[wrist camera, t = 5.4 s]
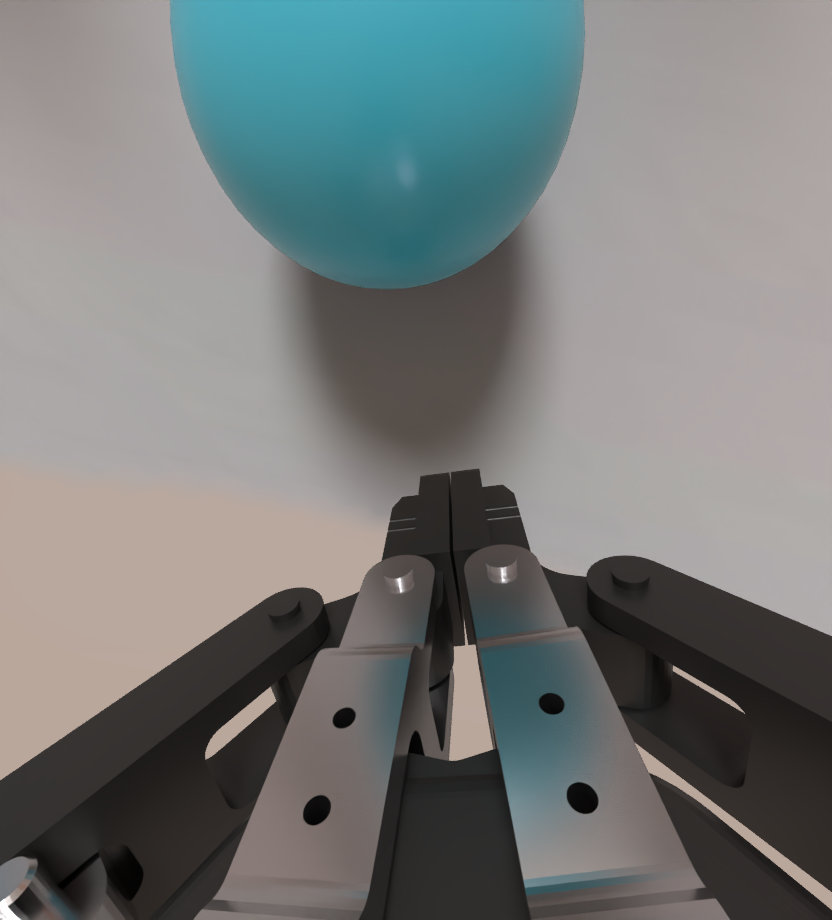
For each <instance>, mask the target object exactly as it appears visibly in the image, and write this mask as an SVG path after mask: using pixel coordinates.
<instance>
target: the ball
mask: <svg viewBox="0 0 832 920" xmlns="http://www.w3.org/2000/svg"><path fill="white" fill-rule="evenodd" d="M170 22H171V33H172V42H173V51H174V60H175V67H176V72H177V77H178V81H179V86H180V91H181V96H182V99H183V102H184V105H185V109H186V112H187V115H188V118H189V121H190V124H191V127H192V129H193V132H194V134H195V136H196V139H197V141H198V143H199V146H200V148H201V150H202V152H203V155H204V157H205V159H206V161H207V162H208V164H209V166H210V168H211V170H212V171H213V173H214V175H215V177H216V178H217V180H218V182H219V184H220V186H221V187H222V189H223V190H224V192H225V193H226V194H227V196H228V197H229V199H230V200H231V201H232V203H233V204H234V206H235V207H236V208H237V210H238V211H239V212H240V213H241V214H242V215H243V217H244V218H245V219H246V220H247V221H248V222H249V223H250V224H251V226H252V227H253V228H254V229H255V230H256V231H257V232H258V233H259V234H261V235H262V236H263V237H264V238H265V239H266V240H267V241H269V242H270V243H271V244H272V245H273V246H274V247H275V248H277V249H278V250H279V251H280V252H282V253H283V254H285V255H286V256H288V257H289V258H291V259H292V260H293V261H295V262H296V263H298V264H299V265H301V266H303V267H305V268H307V269H309V270H311V271H313V272H315V273H317V274H319V275H321V276H323V277H326V278H329V279H332V280H334V281H337V282H340V283H344V284H348V285H353V286H358V287H362V288H374V289H400V288H411V287H416V286H421V285H426V284H430V283H433V282H436V281H439V280H442V279H444V278H447V277H450V276H452V275H454V274H456V273H458V272H460V271H462V270H464V269H466V268H468V267H470V266H471V265H473V264H474V263H476V262H477V261H479V260H480V259H482V258H483V257H484V256H486V255H487V254H489V253H490V252H491V251H492V250H494V249H495V248H496V247H497V246H498V245H499V244H500V243H501V242H502V241H504V240H505V239H506V238H507V237H508V236H509V235H510V234H511V233H512V232H513V231H514V229H515V228H516V227H517V226H518V225H519V224H520V223H521V221H522V220H523V219H524V218H525V217H526V216H527V215H528V213H529V212H530V210H531V209H532V207H533V206H534V204H535V203H536V201H537V200H538V199H539V197H540V196H541V194H542V193H543V191H544V189H545V187H546V185H547V183H548V182H549V180H550V178H551V176H552V174H553V172H554V170H555V168H556V166H557V164H558V161H559V159H560V156H561V154H562V151H563V149H564V146H565V144H566V141H567V139H568V135H569V132H570V128H571V124H572V121H573V117H574V114H575V110H576V105H577V100H578V94H579V88H580V82H581V76H582V70H583V58H584V41H585V23H584V1H583V0H170Z"/></svg>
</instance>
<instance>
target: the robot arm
mask: <svg viewBox="0 0 832 920" xmlns="http://www.w3.org/2000/svg"><path fill="white" fill-rule="evenodd" d="M464 621H465V627H466V634H467V640H468V645H472V644H476V651H477V657H478V664H479V670H480V677H481V683H482V688H483V694H484V700H485V705H486V711H487V717H488V722H489V728H490V733H491V739H492V745H493V750H490V751H488V752H484V753H481V754H478V755H475V756H472V757H469V758H466V759H462V760H458V761H449V750H450V736H451V720H452V706H453V692H454V674H453V669H452V666H453V662H454V649H453V648H454V646H463V645H465V634H464ZM673 665H674V666H676V667H677V668H679V669H681V670H683V671H684V672H686V673H688V674H689V675H691V676H693V677H694V678H696V679H698V680H700V681H701V682H703V683H705V684H707V685H708V686H710V687H712V688H713V689H715V690H717V691H719V692H720V693H722V694H724V695H725V696H727V697H728V698H730V699H731V700H733V701H734V702H735V703H736V704H737V705H738V706H739V707H740V708H741V709H742V710H743V711H744V712H745V714H744V713H743V712H741V711H739V710H738V709H736V708H734V707H732V706H731V705H729V704H727V703H726V702H724V701H722V700H721V699H719V698H717V697H716V696H714V695H712V694H710V693H709V692H707V691H705V690H704V689H702V688H700V687H699V686H697V685H695V684H693V683H692V682H690V681H689V680H687V679H685V678H683V677H682V676H680V675H678V674H677V673H675V672H673ZM270 686H271V688H272V691H273V693H274V696H275V699H276V702H275V703H274V704H273V705H272V706H270V707H269V708H268V709H267V710H266V711H265V712H264V713H262V714H261V715H260V716H259V717H258V718H257V719H255V720H254V721H253V722H252V723H251V724H250V725H248V726H247V727H246V728H245V729H244V730H243V731H241V732H240V733H239V734H238V735H237V736H236V737H235V738H233V739H232V740H231V741H230V742H229V743H228V744H226V745H225V746H224V747H223V748H222V749H220V750H219V751H218V752H217V753H216V754H215V755H213V756H212V757H210V758H209V759H206V760H205V751H206V748H207V745H208V743H209V741H210V739H211V738H212V736H213V735H214V734H215V733H216V731H218V730H219V729H220V728H221V727H222V726H223V725H224V724H226V723H227V722H228V721H229V720H231V719H232V718H233V717H234V716H235V715H237V714H238V713H239V712H240V711H241V710H242V709H244V708H245V707H246V706H247V705H249V704H250V703H251V702H252V701H253V700H255V699H256V698H257V697H258V696H259V695H261V694H262V693H263V692H264V691H265V690H267V689H268V688H269V687H270ZM634 742H635V743H636V744H638V745H639V746H640V747H642V748H643V749H644V750H646V751H647V752H648V753H649V754H651V755H652V756H654V757H655V758H656V759H658V760H659V761H660V762H661V763H663V764H664V765H665V766H667V767H668V768H669V769H671V770H672V771H673V772H675V773H676V774H677V775H679V776H680V777H681V778H682V779H684V780H685V781H686V782H688V783H689V784H690V785H692V786H693V787H694V788H696V789H697V790H698V791H699V792H701V793H702V794H703V795H705V796H706V797H708V798H709V799H710V800H711V801H713V802H714V803H715V804H717V805H718V806H719V807H721V808H722V809H723V810H724V811H726V812H727V813H728V814H730V815H731V816H732V817H734V818H735V819H736V820H738V821H739V822H740V823H742V824H743V825H744V826H746V827H747V828H748V829H749V830H751V831H752V832H753V833H755V834H756V835H757V836H759V837H760V838H761V839H763V840H764V841H765V842H767V843H768V844H769V845H771V846H772V847H773V848H775V849H776V850H777V851H779V852H780V853H781V854H782V855H784V856H785V857H786V858H788V859H789V860H790V861H792V862H793V863H794V864H796V865H797V866H798V867H800V868H801V869H802V870H803V871H805V872H806V873H807V874H809V875H810V876H811V877H813V878H814V879H815V880H817V881H818V882H819V883H821V884H822V885H823V886H824V887H826V888H827V889H828V890H830V891H831V892H832V636H830V635H827V634H825V633H823V632H820V631H818V630H816V629H813V628H811V627H808V626H806V625H804V624H801V623H799V622H797V621H794V620H792V619H789V618H787V617H785V616H782V615H780V614H778V613H775V612H773V611H770V610H768V609H766V608H763V607H761V606H759V605H756V604H754V603H752V602H749V601H747V600H744V599H742V598H740V597H737V596H735V595H733V594H730V593H728V592H725V591H723V590H721V589H718V588H716V587H714V586H711V585H709V584H706V583H704V582H702V581H699V580H697V579H695V578H692V577H690V576H687V575H685V574H683V573H680V572H678V571H676V570H673V569H671V568H669V567H666V566H664V565H661V564H659V563H657V562H654V561H652V560H649V559H645V558H641V557H636V556H613V557H608V558H604V559H602V560H599V561H598V562H596V563H594V564H593V565H592V566H591V567H590V569H589V570H588V572H587V577H583V576H574V575H566V574H561V573H557V572H554V571H551V570H549V569H547V568H545V567H543V566H542V565H540V563H539V561H538V559H537V557H536V556H535V555H534V554H533V553H532V552H531V551H530V547H529V544H528V540H527V537H526V533H525V530H524V526H523V523H522V519H521V517H520V512H519V509H518V506H517V502H516V498H515V495H514V493H513V492H511V491H510V490H509V489H508V488H506V487H505V486H504V485H496V486H488V487H482V483H481V477H480V470H479V469H472V470H464V471H456V472H451V481H450V475H449V473H441V474H433V475H426V476H421V477H420V486H419V495H415V496H407V497H402V498H401V499H400V500H399V502H398V503H397V504H396V505H395V506H394V507H393V508H392V513H391V518H390V522H389V527H388V532H387V537H386V542H385V547H384V552H383V557H382V561H381V562H379V563H377V564H376V565H375V566H373V567H372V568H371V569H370V570H369V571H368V572H367V574H366V575H365V577H364V580H363V583H362V586H361V588H360V591H359V592H358V593H355V594H353V595H351V596H348V597H346V598H343V599H340V600H337V601H334V602H330V603H327V604H324V602H323V599H322V597H321V595H320V594H319V593H318V592H317V591H315V590H313V589H310V588H292V589H287V590H284V591H281V592H278V593H276V594H274V595H272V596H270V597H268V598H267V599H265V600H264V601H262V602H261V603H259V604H258V605H256V606H255V607H253V608H252V609H250V610H249V611H248V612H246V613H245V614H243V615H242V616H240V617H239V618H237V619H236V620H234V621H233V622H231V623H230V624H228V625H227V626H226V627H224V628H223V629H221V630H220V631H218V632H217V633H215V634H214V635H212V636H211V637H209V638H208V639H207V640H205V641H204V642H202V643H201V644H199V645H198V646H196V647H195V648H193V649H192V650H191V651H189V652H188V653H186V654H185V655H183V656H182V657H180V658H179V659H177V660H176V661H174V662H173V663H172V664H171V665H169V666H167V667H166V668H164V669H163V670H161V671H160V672H159V673H157V674H155V675H154V676H152V677H151V678H150V679H148V680H147V681H145V682H144V683H142V684H141V685H139V686H138V687H137V688H135V689H133V690H132V691H130V692H129V693H128V694H126V695H125V696H123V697H122V698H120V699H119V700H117V701H116V702H114V703H113V704H111V705H110V706H109V707H107V708H106V709H104V710H103V711H101V712H100V713H99V714H97V715H95V716H94V717H92V718H91V719H90V720H88V721H87V722H85V723H84V724H82V725H81V726H79V727H78V728H76V729H75V730H73V731H72V732H70V733H69V734H68V735H66V736H65V737H63V738H62V739H60V740H59V741H57V742H56V743H55V744H53V745H51V746H50V747H49V748H47V749H46V750H44V751H43V752H41V753H40V754H38V755H37V756H35V757H34V758H32V759H31V760H30V761H28V762H27V763H25V764H24V765H22V766H21V767H19V768H18V769H16V770H15V771H13V772H12V773H10V774H9V775H8V776H6V777H5V778H3V779H2V780H0V920H832V910H831V909H830V908H828V907H827V906H826V905H825V904H824V903H822V902H821V901H820V900H819V899H817V898H816V897H815V896H814V895H813V894H811V893H810V892H809V891H808V890H806V889H805V888H804V887H803V886H802V885H800V884H799V883H798V882H797V881H795V880H794V879H793V878H792V877H791V876H789V875H788V874H787V873H786V872H784V871H783V870H782V869H781V868H780V867H778V866H777V865H776V864H775V863H773V862H772V861H771V860H770V859H769V858H767V857H766V856H765V855H764V854H762V853H761V852H760V851H759V850H758V849H756V848H755V847H754V846H753V845H751V844H750V843H749V842H748V841H746V840H745V839H744V838H743V837H742V836H740V835H739V834H738V833H737V832H736V831H734V830H733V829H732V828H731V827H729V826H728V825H727V824H726V823H725V822H723V821H722V820H721V819H720V818H718V817H717V816H716V815H714V814H713V813H712V812H711V811H710V810H709V809H707V808H706V807H704V806H703V805H702V804H701V803H699V802H698V801H697V800H695V799H694V798H692V797H691V796H689V795H688V794H686V793H685V792H683V791H682V790H680V789H679V788H677V787H676V786H674V785H672V784H670V783H668V782H667V781H665V780H663V779H661V778H659V777H657V776H655V775H653V774H650V773H649V772H648V770H647V768H646V766H645V764H644V762H643V760H642V758H641V755H640V753H639V751H638V749H637V747H636V745H635V743H634Z"/></svg>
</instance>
